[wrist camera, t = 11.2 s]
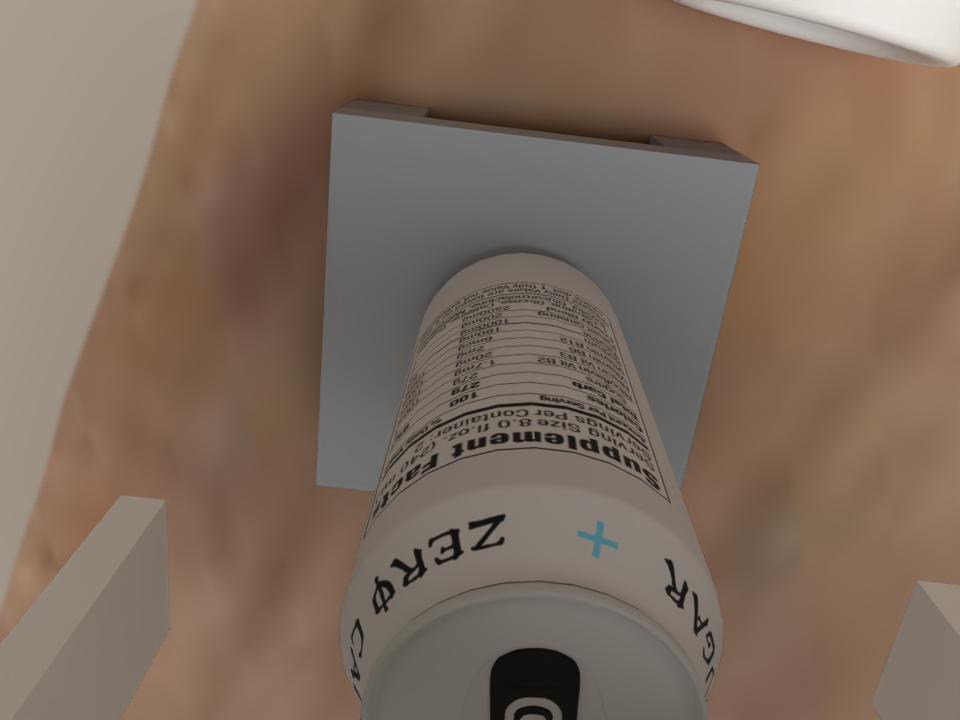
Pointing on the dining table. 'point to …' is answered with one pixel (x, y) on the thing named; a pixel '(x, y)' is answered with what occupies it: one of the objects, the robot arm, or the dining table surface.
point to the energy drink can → (528, 522)
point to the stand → (509, 230)
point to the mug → (856, 25)
